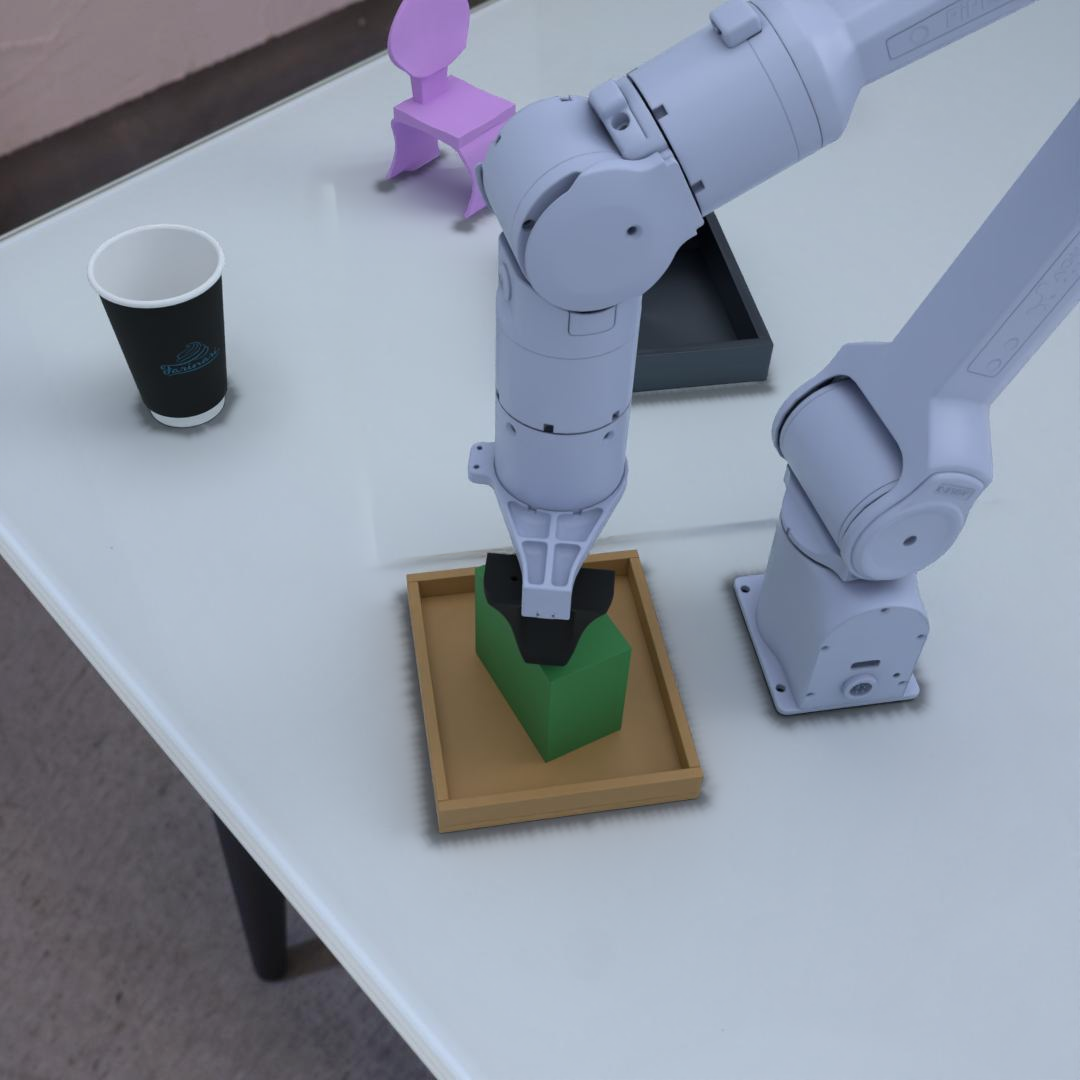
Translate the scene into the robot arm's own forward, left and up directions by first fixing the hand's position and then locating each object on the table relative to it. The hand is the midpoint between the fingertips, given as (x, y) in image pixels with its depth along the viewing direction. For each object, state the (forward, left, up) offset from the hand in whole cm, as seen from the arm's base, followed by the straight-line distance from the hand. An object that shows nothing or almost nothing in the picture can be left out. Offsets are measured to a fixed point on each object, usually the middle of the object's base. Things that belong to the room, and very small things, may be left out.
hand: (551, 596), depth 65 cm
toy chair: (+48, -1, -8) cm, 49 cm away
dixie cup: (+26, +19, -8) cm, 33 cm away
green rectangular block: (0, 0, -7) cm, 7 cm away
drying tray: (0, 0, -8) cm, 8 cm away
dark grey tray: (+30, -12, -8) cm, 33 cm away
